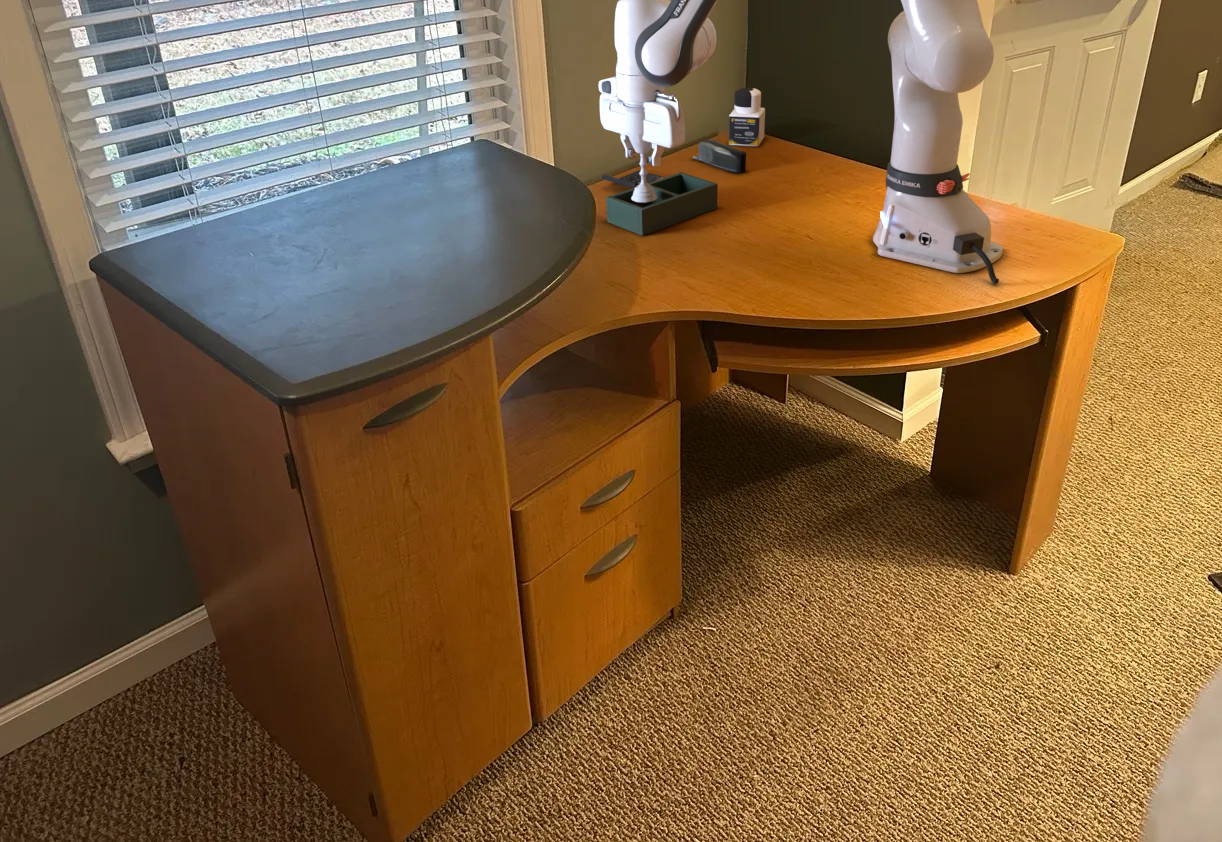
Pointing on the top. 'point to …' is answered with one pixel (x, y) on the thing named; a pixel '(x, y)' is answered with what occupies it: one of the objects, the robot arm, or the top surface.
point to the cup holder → (663, 204)
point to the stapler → (722, 156)
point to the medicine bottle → (747, 118)
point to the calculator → (632, 179)
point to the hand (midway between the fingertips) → (643, 161)
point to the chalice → (635, 134)
